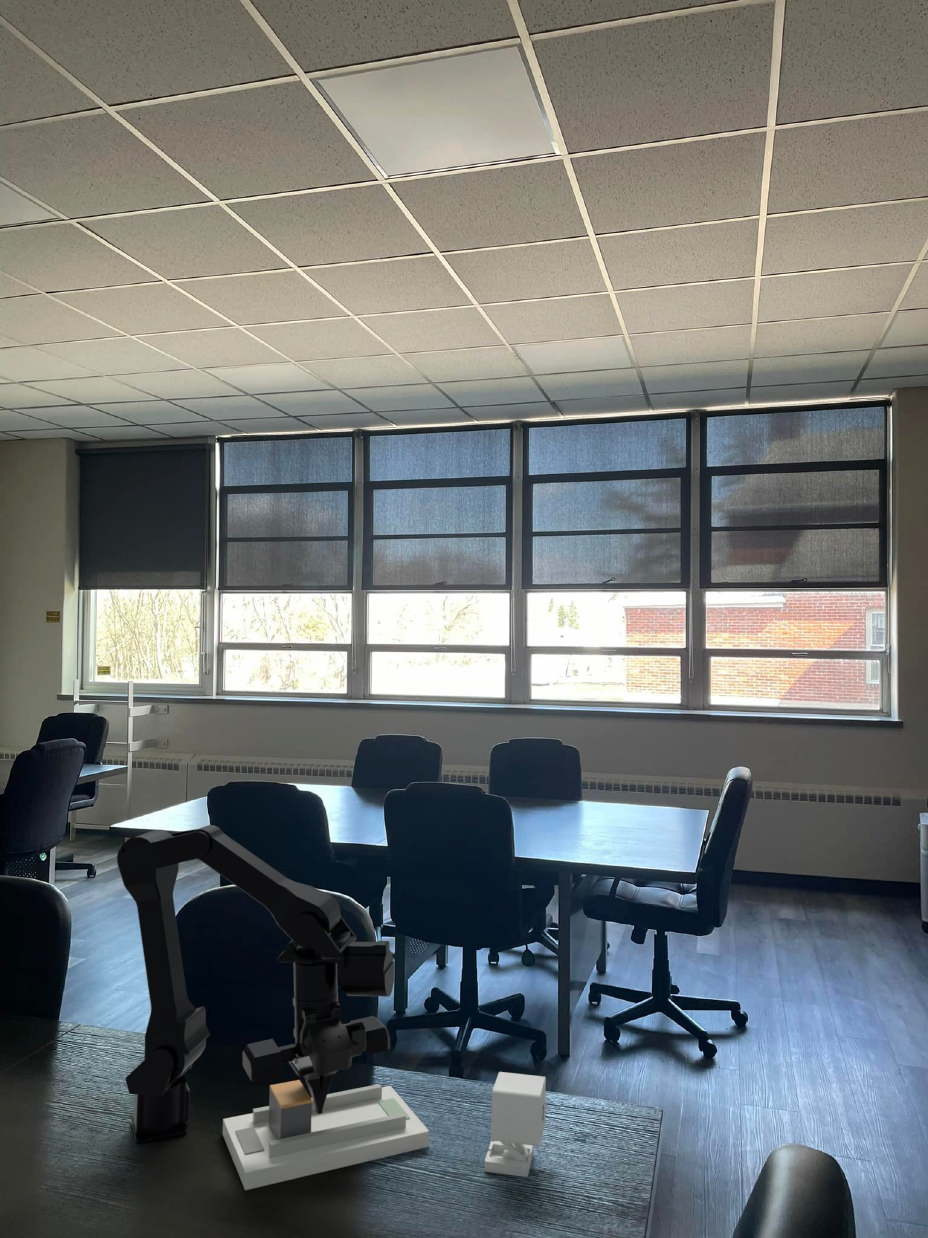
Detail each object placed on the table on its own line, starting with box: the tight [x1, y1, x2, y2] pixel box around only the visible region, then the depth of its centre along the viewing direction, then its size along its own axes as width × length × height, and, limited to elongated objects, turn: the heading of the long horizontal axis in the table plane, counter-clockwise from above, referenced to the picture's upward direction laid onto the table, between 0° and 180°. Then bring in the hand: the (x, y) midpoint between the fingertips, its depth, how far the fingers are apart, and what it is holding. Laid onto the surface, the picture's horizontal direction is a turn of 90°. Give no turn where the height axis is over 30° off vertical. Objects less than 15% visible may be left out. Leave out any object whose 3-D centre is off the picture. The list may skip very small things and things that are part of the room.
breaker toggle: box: [268, 1079, 312, 1140], centre depth 115 cm, size 4×6×5 cm, turn 26°
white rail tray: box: [222, 1083, 430, 1191], centre depth 117 cm, size 24×14×4 cm, turn 116°
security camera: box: [484, 1071, 547, 1178], centre depth 113 cm, size 6×7×10 cm
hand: (319, 1113), depth 117 cm, fingers closed
